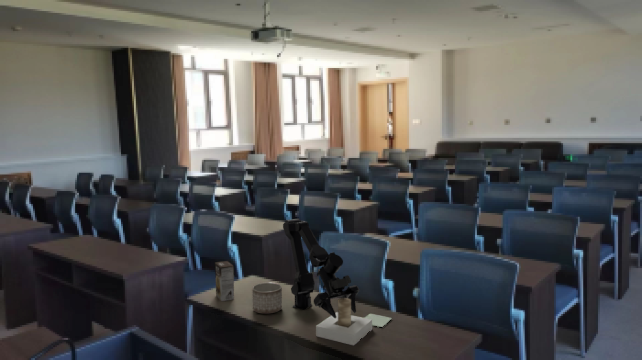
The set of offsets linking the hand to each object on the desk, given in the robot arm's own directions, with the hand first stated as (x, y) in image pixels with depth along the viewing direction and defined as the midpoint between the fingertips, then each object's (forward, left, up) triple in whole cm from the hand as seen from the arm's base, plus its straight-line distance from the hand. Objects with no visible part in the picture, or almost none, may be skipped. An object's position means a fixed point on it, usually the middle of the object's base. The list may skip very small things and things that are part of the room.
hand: (345, 315), depth 188 cm
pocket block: (-1, 0, -7) cm, 7 cm away
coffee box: (-68, +7, -8) cm, 68 cm away
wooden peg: (-1, 0, -7) cm, 7 cm away
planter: (-41, +4, -8) cm, 42 cm away
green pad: (+5, +16, -7) cm, 19 cm away
